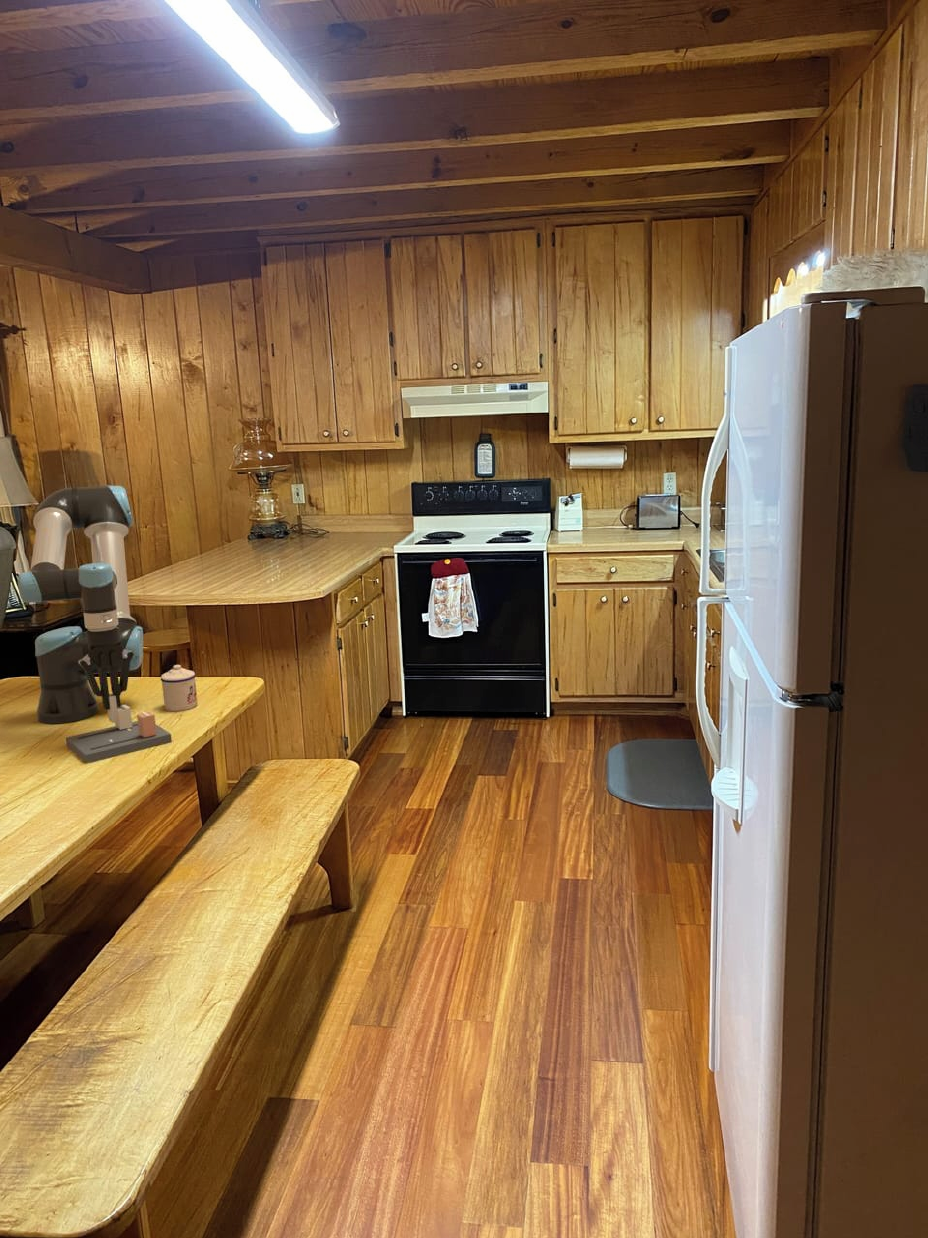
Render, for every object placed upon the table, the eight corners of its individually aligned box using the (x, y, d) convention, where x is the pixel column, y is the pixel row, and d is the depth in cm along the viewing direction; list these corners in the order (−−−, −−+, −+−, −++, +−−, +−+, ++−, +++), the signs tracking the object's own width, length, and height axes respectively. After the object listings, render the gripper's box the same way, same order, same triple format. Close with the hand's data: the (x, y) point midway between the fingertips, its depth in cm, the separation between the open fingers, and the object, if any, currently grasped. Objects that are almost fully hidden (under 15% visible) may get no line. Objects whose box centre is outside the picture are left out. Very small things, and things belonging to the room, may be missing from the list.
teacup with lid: (195, 710, 241) (191, 669, 239) (160, 713, 240) (156, 671, 238) (202, 697, 253) (198, 657, 251) (169, 699, 252) (165, 659, 250)
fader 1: (115, 726, 224) (113, 706, 223) (127, 723, 225) (125, 703, 224) (120, 729, 221) (117, 709, 220) (132, 727, 223) (130, 707, 222)
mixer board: (66, 745, 218) (65, 737, 218) (148, 726, 230) (147, 718, 230) (86, 763, 206) (85, 754, 205) (171, 741, 218) (170, 733, 218)
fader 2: (139, 733, 217) (136, 713, 216) (151, 731, 219) (149, 710, 218) (144, 737, 215) (142, 717, 214) (156, 734, 217) (154, 714, 215)
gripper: (78, 635, 209) (91, 730, 215) (134, 625, 217) (145, 718, 222) (69, 629, 215) (81, 723, 220) (124, 621, 223) (135, 711, 228)
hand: (113, 720), depth 221 cm, fingers closed
